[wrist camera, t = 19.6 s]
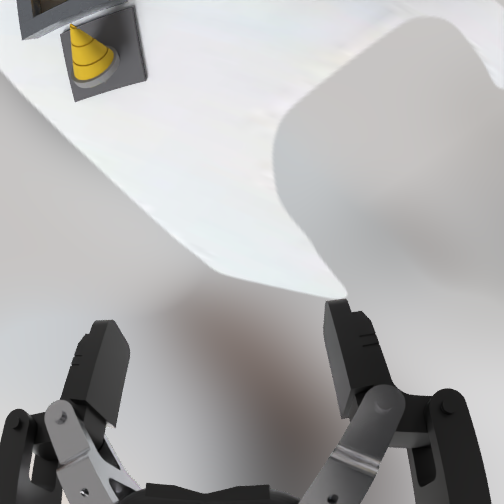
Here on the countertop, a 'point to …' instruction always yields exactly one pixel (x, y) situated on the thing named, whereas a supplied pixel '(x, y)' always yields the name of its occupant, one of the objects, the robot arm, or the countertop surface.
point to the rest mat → (119, 37)
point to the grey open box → (56, 15)
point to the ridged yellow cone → (91, 59)
